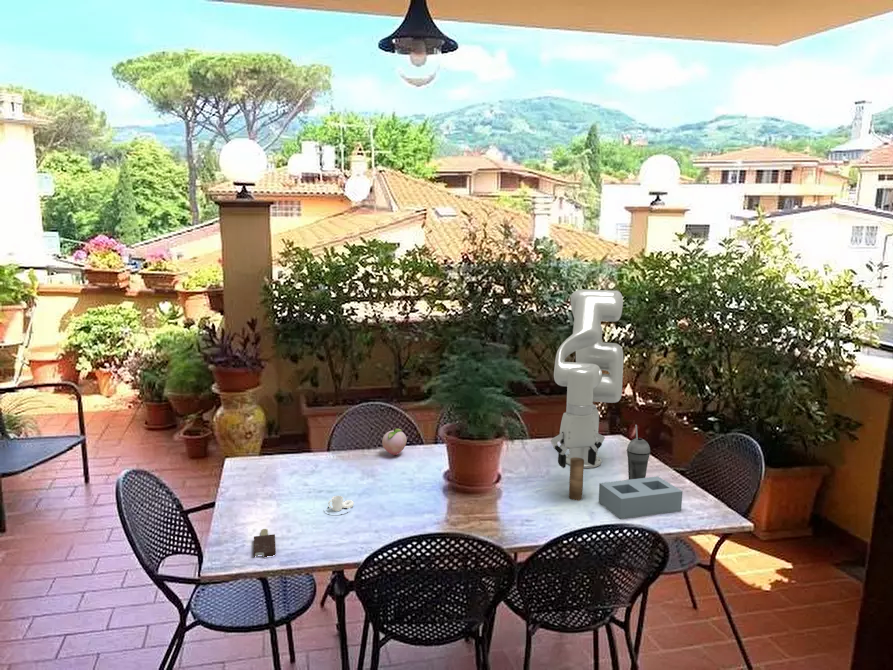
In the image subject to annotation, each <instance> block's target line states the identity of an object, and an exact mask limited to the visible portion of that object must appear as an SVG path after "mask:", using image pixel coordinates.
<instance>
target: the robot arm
mask: <svg viewBox="0 0 893 670" xmlns="http://www.w3.org/2000/svg"><path fill="white" fill-rule="evenodd" d="M623 297H624V296H623V295H622V293H621V292H620V291H619V290H612V289H611V290H609V289H607V290H604V289H578V290H575V291H573V292H572V293H571V295H570V307H571V312H572V316H573V327H572V334H571V335H570V336H568V337H567V338H566V339H565V340H564V341H563V342H562V343H561V344H560V346H559V347H558V349H557V351H556V354H555V360H554V361H555V362H554V370H553V378H554V382H555V384H557V385H558V386H560V387H566V390H567V391H566V408H565V409H566V411H565V412H563V414H562V417H561V422H560V428H559V434H558V435H556V436H554V437H552V438H551V439H550V442H551V445H552V447H553V449H554V450H555V451H556V452H557V453H558V454H557V455H558V457H557V464H558V465H559V466H560V467H561V468H563V469H565V468H566V466H567V465H569V466H570V459H571V458H574V457H578V458H582V459H584V469H591V468H597V467H599V466H601V464H602V459H601V458H600V457H599V456H598V451H599V449H600V448H601V447H602V446H603V442H604V441H605V438H606V437H605V436H604V435H602V434H600V433H599V424H600V415H599V414H600V413H599V410H598V408H597V404H594V403H596V402H597V403H598V402H600V403H609V404H610V403H619V401H620V400H621V398H622V393H623V380H624V379H623V375H624V350H623V348H622V346H621V345H620V344H619V343H614V342H603V340H602V339H603V327H602V325H601V322H618V321H619V320H620V319H621V317H622V313H623V306H624V299H623ZM574 352H575V362H572V361H566V358H568V356H570V355H571V354H573V353H574ZM603 371H606V372H608V373H603ZM558 443H559V444H560V445H559V444H558ZM568 450H569V451H568ZM567 451H568V452H569V453H568V454H565V453H566V452H567Z"/></svg>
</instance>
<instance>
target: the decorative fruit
mask: <svg viewBox="0 0 893 670" xmlns="http://www.w3.org/2000/svg"><path fill="white" fill-rule="evenodd" d="M407 439H408V437H407V435H406V434H405V433H404V432H403V430H402V429H400V428H395V427H394V429H393V430H389V431H387V432H386V433H385V434H384V435H383V437H382V441H381V444H382V448H383V449H384V450H385V452H387V453H389V454H391V455H392V456H397V455H398V454H400V453H401V452H402V451H403V450H404V448H405V447H406V445H407V441H408V440H407Z"/></svg>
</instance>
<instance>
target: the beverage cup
mask: <svg viewBox="0 0 893 670" xmlns="http://www.w3.org/2000/svg"><path fill="white" fill-rule="evenodd" d="M634 427H635V428H634V429H635V438H633V439H631V440H630V441H629V443H628V444H627V448H626V455H627V468H628V469H627V470H628V471H627V472H628V480H630V479H639V478H647V476H646V475H647V469H648V463H649V460H650V459H649V458H650V454H651V447H650V445H649V443H648V441H646V440H645V439H643V438H641V437H638V436H639V435H638V425H637V424H635V426H634Z"/></svg>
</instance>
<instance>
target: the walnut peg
mask: <svg viewBox="0 0 893 670" xmlns="http://www.w3.org/2000/svg"><path fill="white" fill-rule="evenodd" d="M584 469H585V468H584V459H582V458H578V457H574V458H571V459H570V465H569V482H568V483H569V484H568V485H569V486H568V487H569V488H568V499H570V500H572V501H580V500H581V501H582V499H583V492H584V491H583V490H584Z"/></svg>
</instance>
